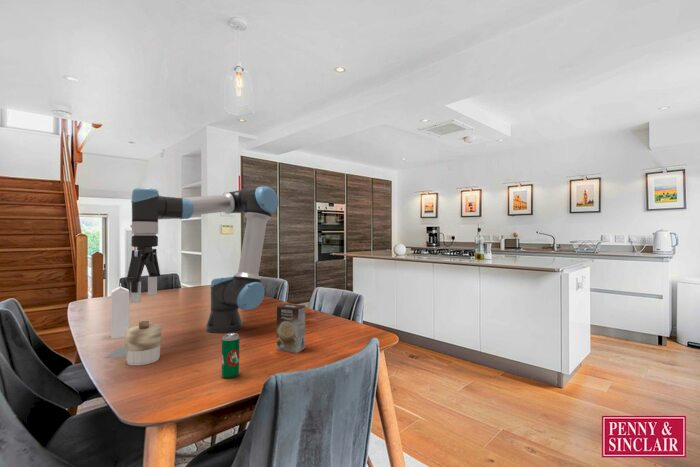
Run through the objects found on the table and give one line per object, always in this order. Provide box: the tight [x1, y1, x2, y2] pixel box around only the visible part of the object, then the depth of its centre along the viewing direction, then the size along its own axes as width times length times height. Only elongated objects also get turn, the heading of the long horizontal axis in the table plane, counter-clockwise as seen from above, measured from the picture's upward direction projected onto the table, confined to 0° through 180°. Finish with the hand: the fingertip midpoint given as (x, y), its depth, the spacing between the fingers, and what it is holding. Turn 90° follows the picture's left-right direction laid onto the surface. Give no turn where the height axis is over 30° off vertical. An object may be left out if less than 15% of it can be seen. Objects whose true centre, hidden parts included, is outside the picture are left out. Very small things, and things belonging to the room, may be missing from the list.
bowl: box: [126, 345, 161, 366], centre depth 111 cm, size 9×9×5 cm
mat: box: [104, 345, 127, 359], centre depth 120 cm, size 12×12×1 cm
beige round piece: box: [125, 320, 162, 351], centre depth 111 cm, size 10×10×8 cm
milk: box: [110, 282, 130, 340], centre depth 139 cm, size 6×6×22 cm
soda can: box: [220, 332, 241, 379], centre depth 100 cm, size 5×5×12 cm
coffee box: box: [275, 303, 306, 354], centre depth 124 cm, size 9×6×16 cm
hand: (144, 299), depth 112 cm, fingers open, 13 cm apart
